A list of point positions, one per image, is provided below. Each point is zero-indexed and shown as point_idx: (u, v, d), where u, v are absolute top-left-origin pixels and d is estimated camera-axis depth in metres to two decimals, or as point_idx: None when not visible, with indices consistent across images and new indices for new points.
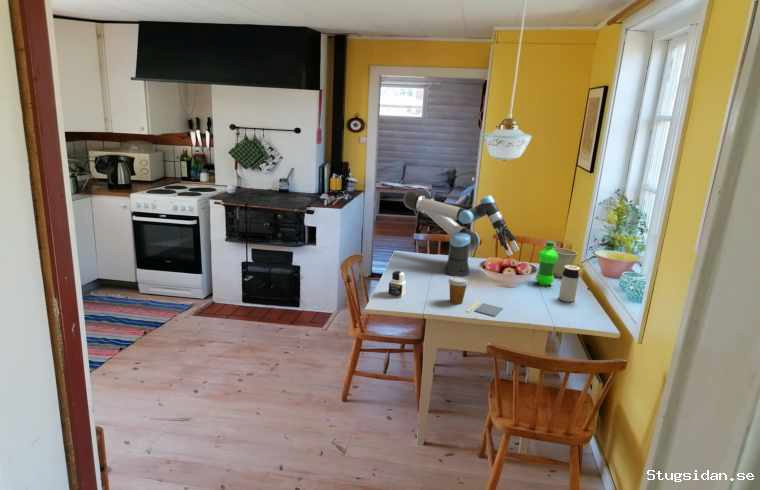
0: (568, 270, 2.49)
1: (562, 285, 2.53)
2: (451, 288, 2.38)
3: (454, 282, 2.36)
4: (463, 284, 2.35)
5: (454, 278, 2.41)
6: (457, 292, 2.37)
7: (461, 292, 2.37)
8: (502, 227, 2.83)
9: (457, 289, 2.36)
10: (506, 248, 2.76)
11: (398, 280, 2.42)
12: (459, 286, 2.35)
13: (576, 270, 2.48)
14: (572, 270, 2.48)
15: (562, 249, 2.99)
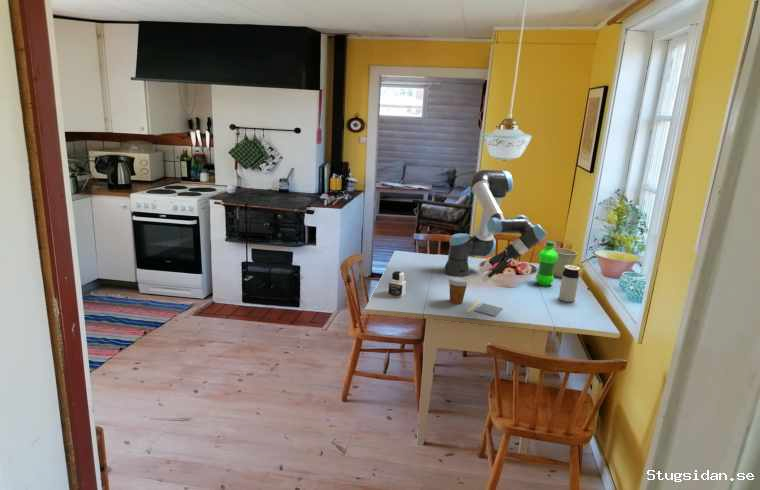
0: (568, 270, 2.49)
1: (562, 285, 2.53)
2: (451, 288, 2.38)
3: (454, 282, 2.36)
4: (463, 284, 2.35)
5: (454, 278, 2.41)
6: (457, 292, 2.37)
7: (461, 292, 2.37)
8: None
9: (457, 289, 2.36)
10: (490, 275, 2.28)
11: (398, 280, 2.42)
12: (459, 286, 2.35)
13: (576, 270, 2.48)
14: (572, 270, 2.48)
15: (562, 249, 2.99)
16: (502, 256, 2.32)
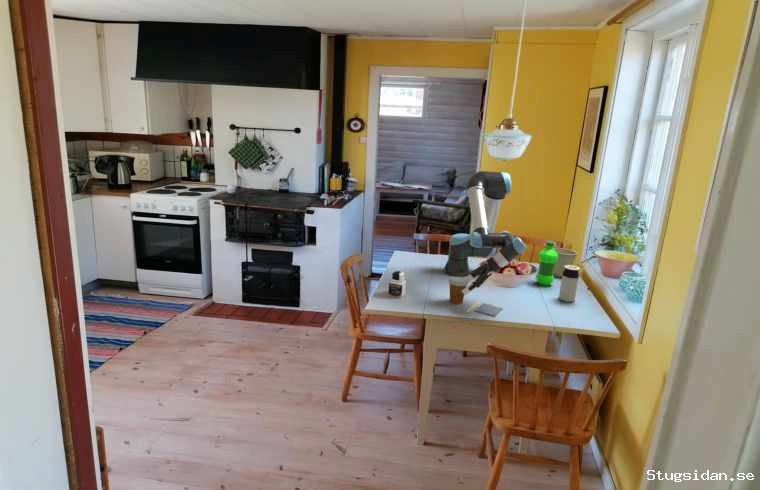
0: (568, 270, 2.49)
1: (562, 285, 2.53)
2: (451, 288, 2.38)
3: (454, 282, 2.36)
4: (463, 284, 2.35)
5: (454, 278, 2.41)
6: (457, 292, 2.37)
7: (461, 292, 2.37)
8: None
9: (457, 289, 2.36)
10: (471, 288, 2.30)
11: (398, 280, 2.42)
12: (459, 286, 2.36)
13: (576, 270, 2.48)
14: (572, 270, 2.48)
15: (562, 249, 2.99)
16: (483, 269, 2.33)
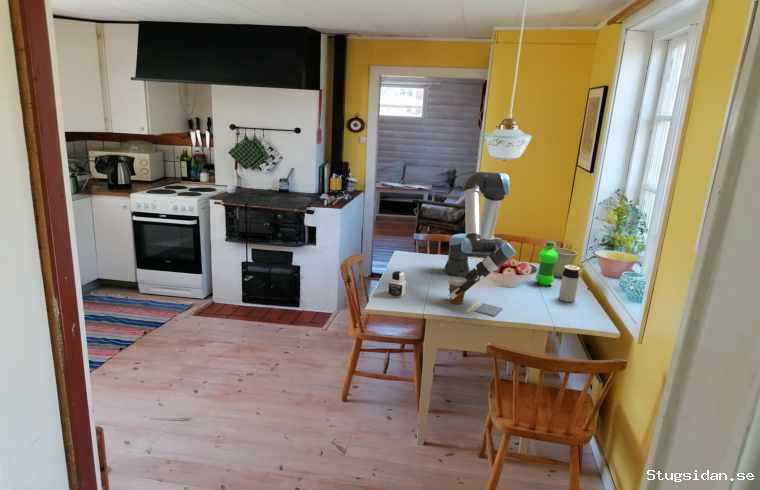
0: (568, 270, 2.49)
1: (562, 285, 2.53)
2: (451, 288, 2.38)
3: (454, 282, 2.36)
4: None
5: (454, 278, 2.41)
6: None
7: None
8: None
9: None
10: (457, 293, 2.35)
11: (398, 280, 2.42)
12: None
13: (576, 270, 2.48)
14: (572, 270, 2.48)
15: (562, 249, 2.99)
16: (472, 273, 2.36)
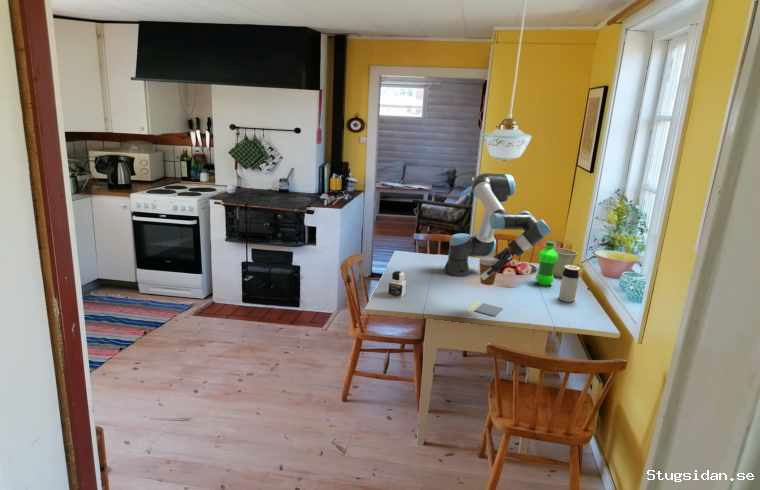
0: (568, 270, 2.49)
1: (562, 285, 2.53)
2: (482, 268, 2.27)
3: (485, 262, 2.25)
4: None
5: (485, 258, 2.30)
6: None
7: None
8: None
9: (488, 268, 2.25)
10: (489, 273, 2.23)
11: (398, 280, 2.42)
12: (491, 265, 2.25)
13: (576, 270, 2.48)
14: (572, 270, 2.48)
15: (562, 249, 2.99)
16: (504, 253, 2.25)
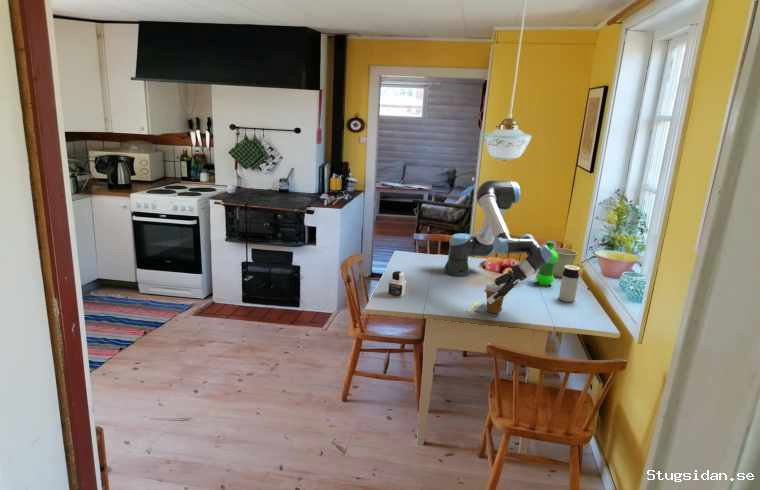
0: (568, 270, 2.49)
1: (562, 285, 2.53)
2: (488, 295, 2.27)
3: (492, 288, 2.25)
4: None
5: (491, 286, 2.31)
6: None
7: (499, 299, 2.26)
8: None
9: None
10: (496, 297, 2.23)
11: (398, 280, 2.42)
12: None
13: (576, 270, 2.48)
14: (572, 270, 2.48)
15: (562, 249, 2.99)
16: (508, 277, 2.27)
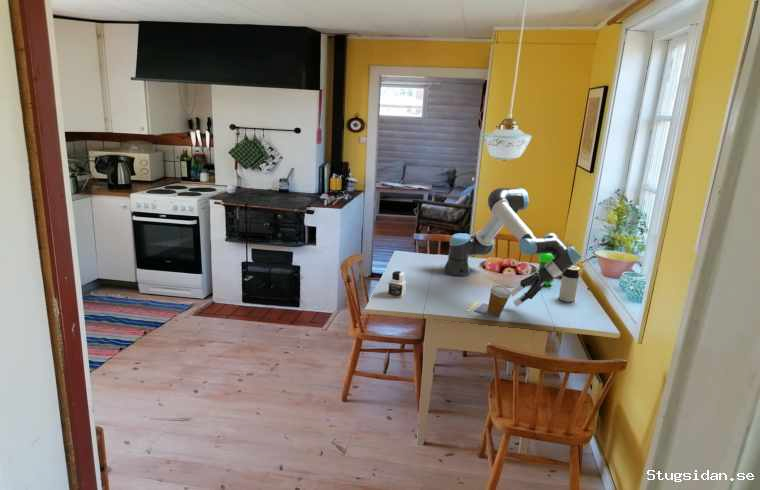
0: (568, 270, 2.49)
1: (562, 285, 2.53)
2: (492, 298, 2.25)
3: (497, 293, 2.22)
4: (506, 296, 2.22)
5: (496, 288, 2.27)
6: (499, 303, 2.24)
7: (502, 304, 2.24)
8: None
9: (499, 300, 2.23)
10: (523, 300, 2.22)
11: (398, 280, 2.42)
12: (502, 297, 2.22)
13: (576, 270, 2.48)
14: (572, 270, 2.48)
15: None
16: (535, 279, 2.26)
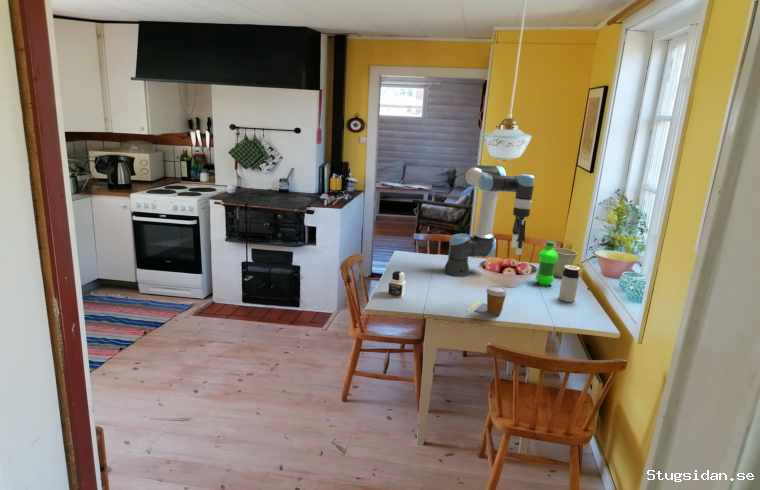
0: (568, 270, 2.49)
1: (562, 285, 2.53)
2: (489, 298, 2.26)
3: (493, 292, 2.23)
4: (502, 294, 2.23)
5: (492, 288, 2.28)
6: (496, 303, 2.24)
7: (499, 302, 2.25)
8: None
9: (496, 299, 2.24)
10: (520, 246, 2.24)
11: (398, 280, 2.42)
12: (498, 296, 2.23)
13: (576, 270, 2.48)
14: (572, 270, 2.48)
15: (562, 249, 2.99)
16: (516, 222, 2.28)
